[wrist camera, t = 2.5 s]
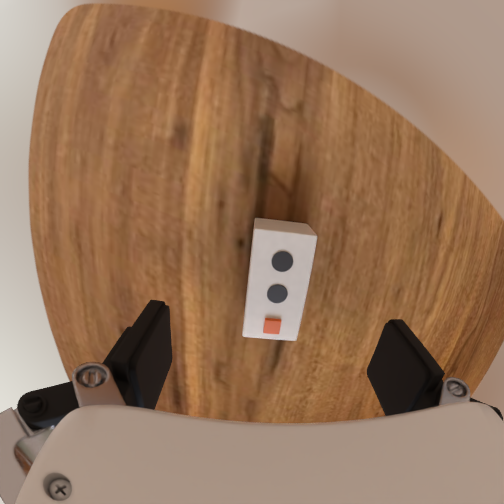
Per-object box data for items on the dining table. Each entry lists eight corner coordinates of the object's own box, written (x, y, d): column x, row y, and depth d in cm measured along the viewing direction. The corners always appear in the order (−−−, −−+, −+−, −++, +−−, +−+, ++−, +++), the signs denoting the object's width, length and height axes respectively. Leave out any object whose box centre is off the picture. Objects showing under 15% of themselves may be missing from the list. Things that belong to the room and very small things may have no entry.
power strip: (307, 223, 18) (318, 236, 14) (291, 316, 20) (297, 343, 16) (254, 217, 18) (254, 229, 14) (244, 312, 20) (241, 339, 16)
